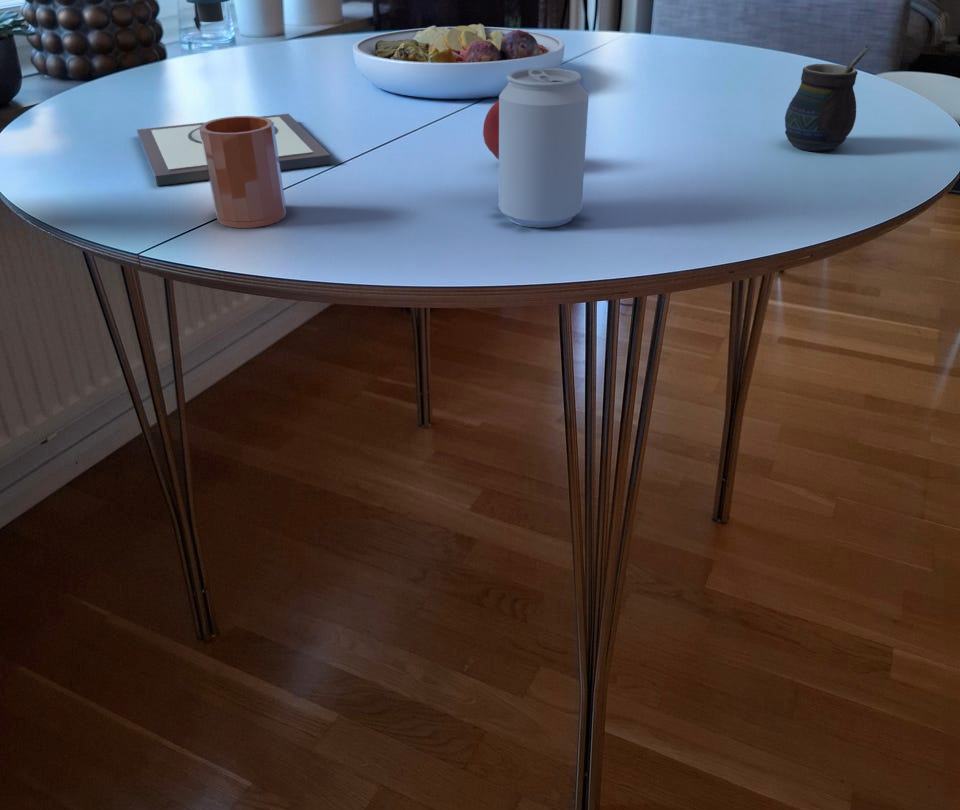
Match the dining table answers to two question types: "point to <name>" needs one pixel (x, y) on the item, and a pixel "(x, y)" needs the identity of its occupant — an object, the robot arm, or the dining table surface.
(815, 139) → the mate gourd
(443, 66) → the bowl
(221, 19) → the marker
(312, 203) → the dining table surface
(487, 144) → the onion
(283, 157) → the picture frame
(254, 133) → the pen cup
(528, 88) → the can
